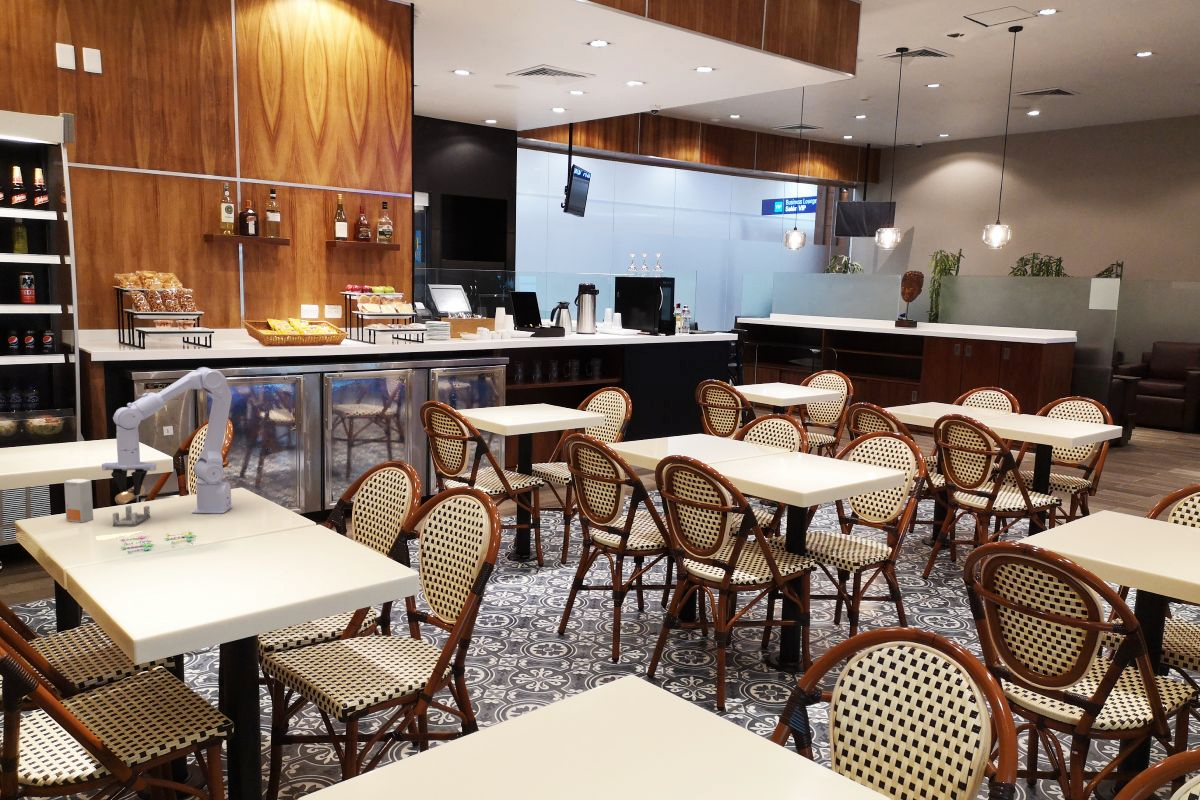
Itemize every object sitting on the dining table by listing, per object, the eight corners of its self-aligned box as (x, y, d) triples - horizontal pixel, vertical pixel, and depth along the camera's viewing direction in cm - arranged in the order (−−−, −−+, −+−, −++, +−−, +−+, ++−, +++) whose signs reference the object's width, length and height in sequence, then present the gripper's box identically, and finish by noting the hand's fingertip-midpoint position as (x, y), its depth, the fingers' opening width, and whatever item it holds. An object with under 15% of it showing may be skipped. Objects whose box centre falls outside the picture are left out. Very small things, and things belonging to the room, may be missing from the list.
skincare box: (65, 521, 263) (63, 481, 261) (77, 517, 267) (75, 478, 265) (82, 523, 261) (79, 482, 260) (94, 519, 265) (92, 479, 264)
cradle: (150, 517, 269) (149, 505, 268) (135, 526, 259) (134, 514, 258) (128, 517, 268) (128, 505, 268) (113, 526, 258) (112, 514, 258)
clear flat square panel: (212, 523, 264) (211, 519, 264) (232, 552, 239) (232, 547, 239) (95, 537, 248) (95, 532, 248) (104, 569, 223) (103, 564, 223)
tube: (134, 495, 268) (133, 484, 268) (145, 494, 269) (144, 484, 268) (115, 504, 257) (114, 493, 256) (127, 504, 257) (126, 493, 256)
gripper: (95, 451, 256) (98, 497, 258) (147, 451, 257) (150, 498, 259) (107, 446, 263) (110, 492, 265) (158, 447, 264) (160, 492, 266)
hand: (130, 494), depth 262 cm, fingers closed on tube, 3 cm apart
